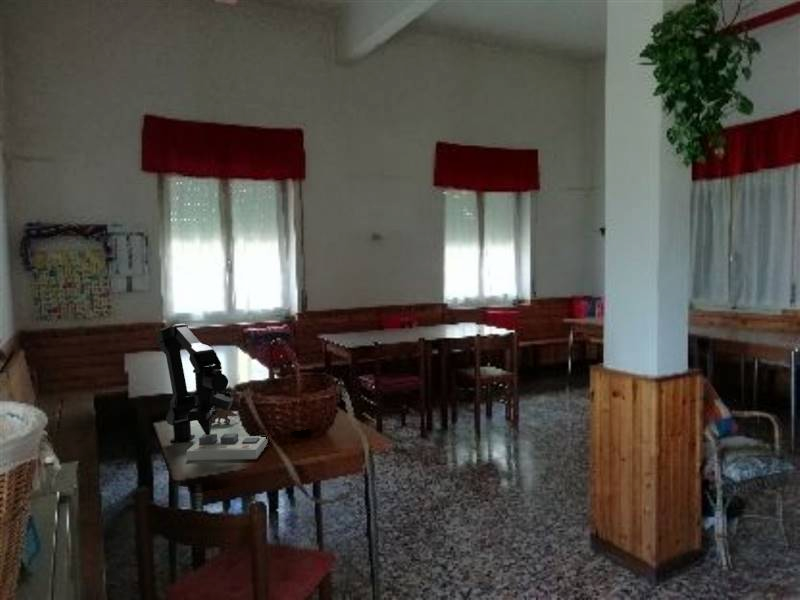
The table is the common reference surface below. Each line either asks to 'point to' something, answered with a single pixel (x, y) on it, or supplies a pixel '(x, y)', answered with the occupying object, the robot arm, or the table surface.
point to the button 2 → (250, 440)
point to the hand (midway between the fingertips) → (207, 434)
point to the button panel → (227, 450)
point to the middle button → (229, 438)
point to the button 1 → (208, 439)
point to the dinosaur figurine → (223, 415)
